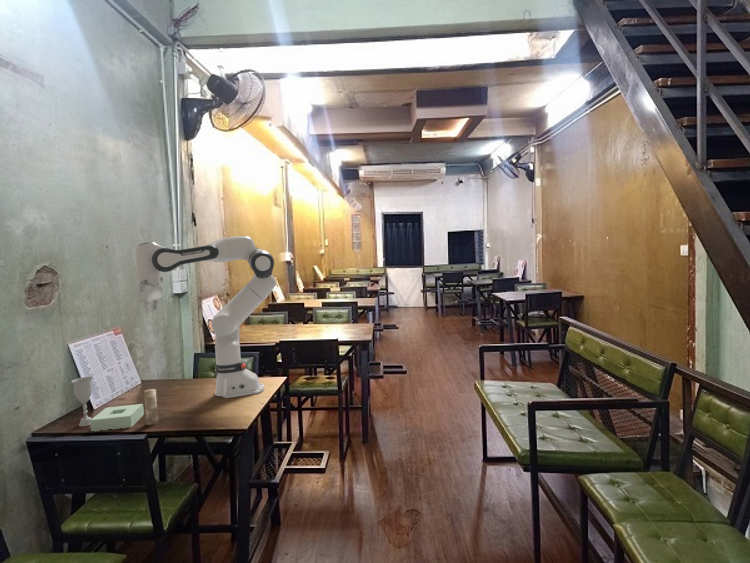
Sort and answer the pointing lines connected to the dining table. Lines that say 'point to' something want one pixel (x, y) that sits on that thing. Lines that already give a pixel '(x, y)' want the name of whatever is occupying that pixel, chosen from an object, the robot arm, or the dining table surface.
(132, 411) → the socket block
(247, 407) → the dining table surface
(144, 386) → the dining table surface
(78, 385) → the chalice
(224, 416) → the dining table surface
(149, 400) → the peg
